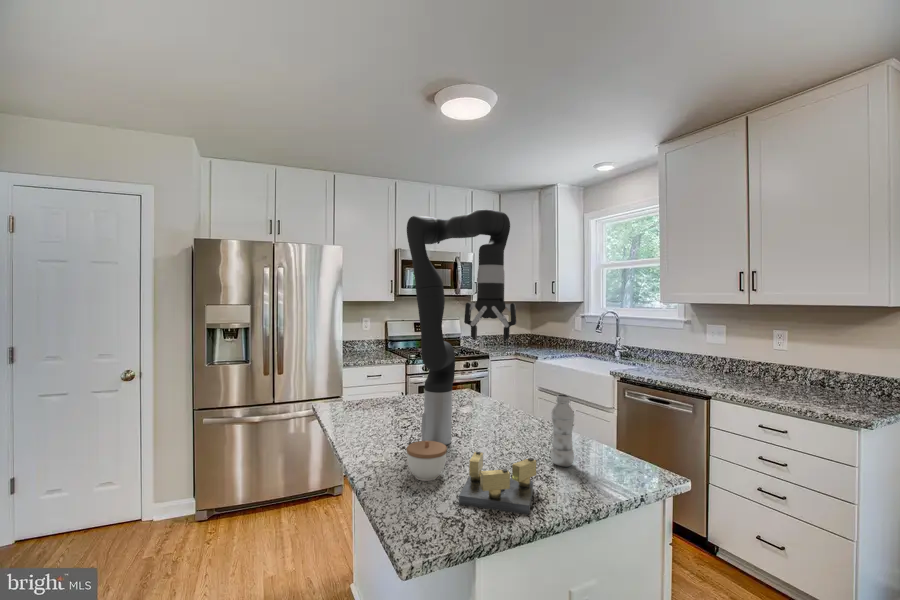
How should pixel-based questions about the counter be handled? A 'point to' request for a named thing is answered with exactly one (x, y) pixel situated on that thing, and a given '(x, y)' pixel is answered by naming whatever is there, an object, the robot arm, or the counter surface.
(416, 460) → the lidded jar
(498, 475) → the bar with square hole
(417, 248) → the robot arm
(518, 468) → the knob
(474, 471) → the knob
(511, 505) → the levelling plate
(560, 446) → the plastic bottle
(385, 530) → the counter surface
